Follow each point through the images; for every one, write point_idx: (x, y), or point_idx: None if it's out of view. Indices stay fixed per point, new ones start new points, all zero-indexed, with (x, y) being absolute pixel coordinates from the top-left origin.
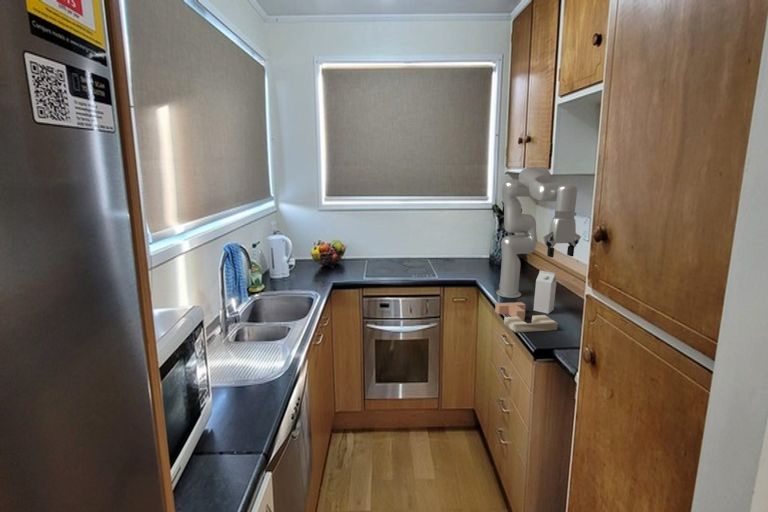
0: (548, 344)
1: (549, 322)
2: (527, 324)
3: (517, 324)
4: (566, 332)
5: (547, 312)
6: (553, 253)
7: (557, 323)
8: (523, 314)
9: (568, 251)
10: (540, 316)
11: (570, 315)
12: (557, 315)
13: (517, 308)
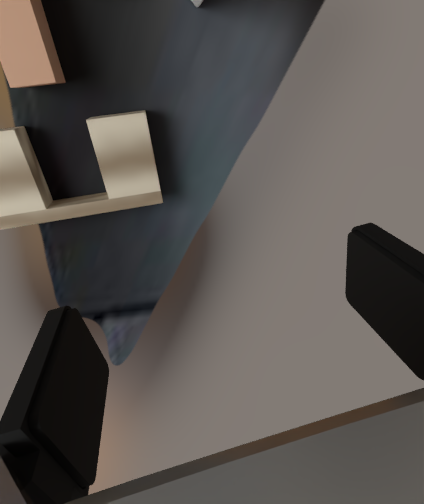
0: (98, 294)
1: (135, 197)
2: (45, 219)
3: (5, 220)
4: (183, 213)
5: (194, 3)
6: (98, 414)
7: (162, 202)
8: (52, 83)
9: (379, 273)
10: (120, 131)
11: (284, 36)
12: (230, 32)
13: (18, 36)
